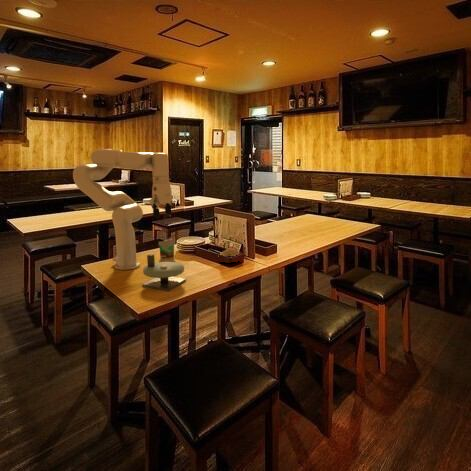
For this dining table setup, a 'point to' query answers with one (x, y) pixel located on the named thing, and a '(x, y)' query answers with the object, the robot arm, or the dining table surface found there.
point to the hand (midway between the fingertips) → (162, 215)
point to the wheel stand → (164, 283)
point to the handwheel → (162, 268)
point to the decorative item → (230, 252)
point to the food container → (167, 248)
